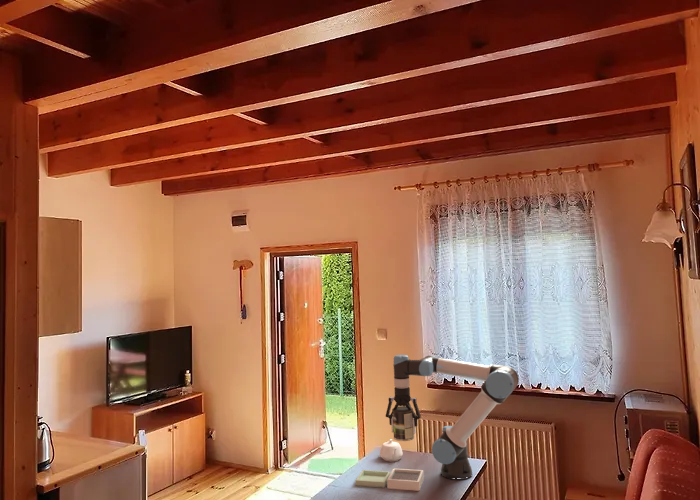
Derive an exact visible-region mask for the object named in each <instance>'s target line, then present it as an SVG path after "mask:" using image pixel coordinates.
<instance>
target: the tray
mask: <svg viewBox="0 0 700 500" xmlns="http://www.w3.org/2000/svg"><path fill="white" fill-rule="evenodd" d="M390 473H391V471H387V470H386V471H385V470H383V471H382V470H370V469H369V470H368V469H367V470H366V469H362V470H361V472H360V473H359V475H358V476H357V478H356V479H355V487H367V488H369V487H370V488H381V489H385V488H386V486H387V479H388V477H389V475H390Z"/></svg>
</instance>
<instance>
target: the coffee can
mask: <svg viewBox="0 0 700 500" xmlns="http://www.w3.org/2000/svg"><path fill="white" fill-rule="evenodd" d="M412 411H414V407H412V410H408V408H407V407H406V406H398V408H397V409H396V410H394V407H393V408H392V409H391V413H392V412H393V417H392V418H393V430H394V432H393V439H394V441H397V442H409V441H413V440H414V439H415V434H413V419H414V418H413V417H412Z"/></svg>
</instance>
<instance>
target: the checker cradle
mask: <svg viewBox="0 0 700 500" xmlns="http://www.w3.org/2000/svg"><path fill="white" fill-rule="evenodd" d="M424 471H425V470H423V469H408V468H392V470H391V471H390V475H389V477H388V479H387V484H386V486H387V488H386V489H389V490H391V489H392V490H403V491H404V490H406V491H415V492H416V491H417V492H419V491H420V490H421V487H422V485H423V482H424V480H425V474H424V473H425V472H424ZM395 472H407V473H420V475H419V478H418V480H417V481H411V480H396V479H392V477H393V475H394V474H395Z"/></svg>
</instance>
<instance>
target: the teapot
mask: <svg viewBox="0 0 700 500" xmlns="http://www.w3.org/2000/svg"><path fill="white" fill-rule="evenodd" d="M403 454H404V453H403V449H402V447H401V444H400V443H399V442H398V441H393V439H392V438H390V439H389V440H388V441H385V442H383V443H382V445H381V447H380V451H379V455H380V457H381V459H383V460H384V461H386V462H397V461H399V460H401V458H402V457H403Z"/></svg>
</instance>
